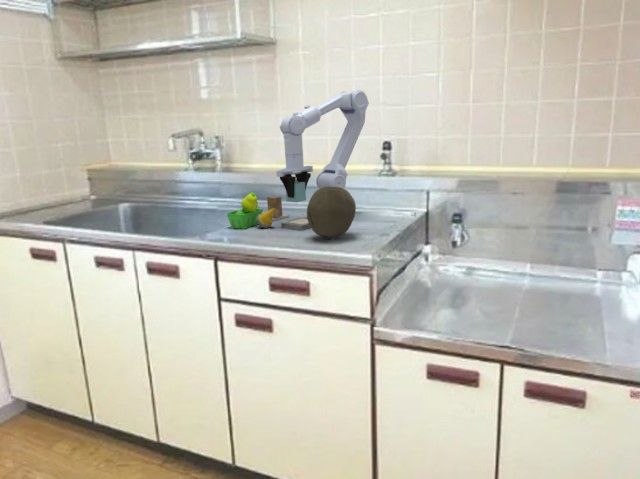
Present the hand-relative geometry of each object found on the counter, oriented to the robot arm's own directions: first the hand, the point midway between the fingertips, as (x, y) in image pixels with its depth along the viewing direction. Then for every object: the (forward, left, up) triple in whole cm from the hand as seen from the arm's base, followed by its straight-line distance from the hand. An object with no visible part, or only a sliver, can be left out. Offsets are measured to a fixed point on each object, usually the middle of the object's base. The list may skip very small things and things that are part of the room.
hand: (296, 196), depth 176 cm
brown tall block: (-3, -14, -8) cm, 16 cm away
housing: (0, 0, -2) cm, 2 cm away
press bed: (+1, +3, -9) cm, 10 cm away
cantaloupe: (+8, +22, -10) cm, 26 cm away
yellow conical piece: (+8, -6, -10) cm, 14 cm away
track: (-2, -14, -9) cm, 17 cm away
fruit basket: (+10, -14, -10) cm, 20 cm away
